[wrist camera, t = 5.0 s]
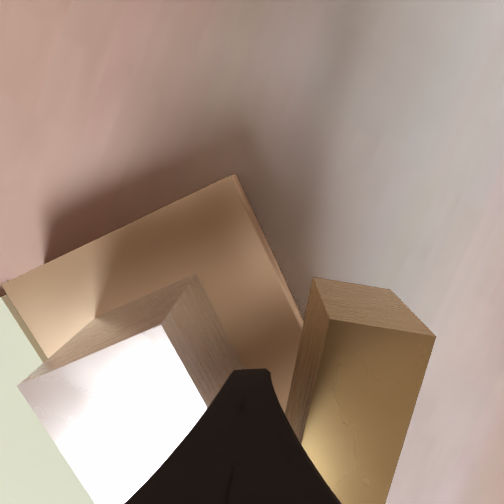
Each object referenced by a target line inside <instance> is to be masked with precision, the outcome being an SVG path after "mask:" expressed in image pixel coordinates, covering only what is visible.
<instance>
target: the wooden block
mask: <svg viewBox="0 0 504 504" xmlns="http://www.w3.org/2000/svg"><path fill="white" fill-rule="evenodd" d="M435 338H436V336H435V335H434V334H433V333H432V332H431V331H430V330H429V329H428V328H427V327H426V326H425V324H424V323H423V322H422V321H421V320H420V319H419V318H418V317H417V316H416V315H415V314H414V313H413V312H412V311H411V310H410V309H409V308H408V307H407V306H406V305H405V304H404V303H403V302H402V301H401V300H400V299H399V298H398V297H397V296H396V295H395V294H394V293H393V292H392V291H391V290H390V289H384V288H378V287H372V286H366V285H360V284H353V283H347V282H341V281H335V280H329V279H323V278H317V277H313V279H312V284H311V289H310V294H309V299H308V304H307V309H306V313H305V318H304V323H303V328H302V333H301V338H300V342H299V347H298V352H297V357H296V362H295V367H294V372H293V376H292V381H291V386H290V391H289V396H288V401H287V406H286V410H285V415H286V417H287V419H288V421H289V423H290V425H291V427H292V429H293V431H294V433H295V434H296V436H297V438H298V440H299V441H300V443H301V445H302V446H303V448H304V450H305V451H306V453H307V455H308V456H309V458H310V459H311V461H312V462H313V464H314V465H315V467H316V469H317V470H318V472H319V473H320V474H321V476H322V477H323V479H324V480H325V482H326V483H327V484H328V486H329V487H330V488H331V490H332V491H333V493H334V494H335V495H336V497H337V498H338V499H339V501H340V502H341V503H342V504H385V502H386V499H387V496H388V492H389V489H390V486H391V483H392V479H393V476H394V473H395V469H396V466H397V463H398V460H399V456H400V453H401V450H402V447H403V443H404V440H405V437H406V433H407V430H408V427H409V424H410V420H411V417H412V414H413V410H414V407H415V404H416V401H417V397H418V394H419V391H420V388H421V384H422V381H423V378H424V374H425V371H426V368H427V365H428V361H429V358H430V355H431V352H432V348H433V345H434V342H435Z"/></svg>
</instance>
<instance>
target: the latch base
mask: <svg viewBox="0 0 504 504" xmlns="http://www.w3.org/2000/svg"><path fill="white" fill-rule="evenodd" d="M195 273H196V274H197V276H198V278H199V280H200V282H201V284H202V286H203V288H204V290H205V292H206V294H207V296H208V298H209V300H210V302H211V304H212V306H213V307H214V309H215V311H216V313H217V315H218V317H219V319H220V321H221V323H222V325H223V327H224V329H225V331H226V333H227V335H228V337H229V339H230V340H231V342H232V344H233V346H234V348H235V350H236V352H237V354H238V356H239V358H240V360H241V362H242V364H243V366H244V368H245V369H261V368H266V369H267V370H268V371H269V372H271V380H272V384H273V387H274V390H275V393H276V395H277V398H278V401H279V403H280V405H281V407H282V409H283V411H284V413H285V410H286V406H287V401H288V396H289V391H290V386H291V381H292V376H293V372H294V367H295V362H296V357H297V352H298V347H299V342H300V338H301V333H302V328H303V323H304V320H303V318H302V316H301V313H300V311H299V309H298V307H297V305H296V303H295V300H294V298H293V296H292V294H291V292H290V290H289V288H288V285H287V283H286V281H285V279H284V277H283V275H282V272H281V270H280V268H279V266H278V264H277V262H276V259H275V257H274V255H273V253H272V251H271V249H270V246H269V244H268V242H267V240H266V238H265V236H264V233H263V231H262V229H261V227H260V225H259V223H258V220H257V218H256V216H255V214H254V212H253V210H252V207H251V205H250V203H249V201H248V199H247V197H246V194H245V192H244V190H243V188H242V186H241V184H240V182H239V179H238V177H237V175H236V174H234V175H230V176H228V177H225V178H223V179H221V180H219V181H217V182H215V183H213V184H211V185H209V186H207V187H205V188H202V189H200V190H198V191H196V192H194V193H192V194H190V195H188V196H186V197H184V198H182V199H179V200H177V201H175V202H173V203H171V204H169V205H167V206H165V207H163V208H161V209H159V210H156V211H154V212H152V213H150V214H148V215H146V216H144V217H142V218H140V219H138V220H136V221H133V222H131V223H129V224H127V225H125V226H123V227H121V228H119V229H117V230H115V231H113V232H110V233H108V234H106V235H104V236H102V237H100V238H98V239H96V240H94V241H92V242H90V243H87V244H85V245H83V246H81V247H79V248H77V249H75V250H73V251H71V252H69V253H67V254H64V255H62V256H60V257H58V258H56V259H54V260H52V261H50V262H48V263H46V264H44V265H41V266H39V267H37V268H35V269H33V270H31V271H29V272H27V273H25V274H23V275H21V276H18V277H16V278H14V279H12V280H10V281H8V282H6V283H4V284H2V285H1V286H2V287H3V289H4V290H5V292H6V294H7V295H8V297H9V298H10V300H11V301H12V303H13V304H14V306H15V308H16V309H17V311H18V312H19V314H20V315H21V317H22V319H23V320H24V322H25V323H26V325H27V326H28V328H29V329H30V331H31V333H32V334H33V336H34V337H35V339H36V340H37V342H38V344H39V345H40V347H41V348H42V350H43V351H44V353H45V355H46V356H47V358H49V357H51V356H52V355H53V354H54V353H55V352H56V351H57V350H59V349H60V348H61V347H62V346H63V345H64V344H65V343H67V342H68V341H69V340H70V339H71V338H72V337H73V336H75V335H76V334H77V333H78V332H79V331H80V330H81V329H83V328H84V327H85V326H86V325H87V324H88V323H89V322H91V321H92V320H93V319H94V318H96V317H98V316H100V315H102V314H105V313H107V312H109V311H111V310H114V309H116V308H118V307H120V306H123V305H125V304H127V303H130V302H132V301H134V300H136V299H139V298H141V297H143V296H145V295H148V294H150V293H152V292H154V291H157V290H159V289H161V288H163V287H166V286H168V285H170V284H172V283H175V282H177V281H179V280H181V279H184V278H186V277H188V276H191V275H193V274H195Z"/></svg>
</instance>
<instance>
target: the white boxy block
mask: <svg viewBox="0 0 504 504" xmlns="http://www.w3.org/2000/svg"><path fill="white" fill-rule="evenodd" d="M242 369H245V368H244V366H243V364H242V362H241V360H240V358H239V356H238V354H237V352H236V350H235V348H234V346H233V344H232V342H231V340H230V339H229V337H228V335H227V333H226V331H225V329H224V327H223V325H222V323H221V321H220V319H219V317H218V315H217V313H216V311H215V309H214V307H213V306H212V304H211V302H210V300H209V298H208V296H207V294H206V292H205V290H204V288H203V286H202V284H201V282H200V280H199V278H198V276H197V274H196V273H195V274H193V275H191V276H188V277H186V278H184V279H181V280H179V281H177V282H175V283H172V284H170V285H168V286H166V287H163V288H161V289H159V290H157V291H154V292H152V293H150V294H148V295H145V296H143V297H141V298H139V299H136V300H134V301H132V302H130V303H127V304H125V305H123V306H120V307H118V308H116V309H114V310H111V311H109V312H107V313H105V314H102V315H100V316H98V317H96V318H94V319H93V320H92V321H91V322H89V323H88V324H87V325H86V326H85V327H84V328H83V329H81V330H80V331H79V332H78V333H77V334H76V335H75V336H73V337H72V338H71V339H70V340H69V341H68V342H67V343H65V344H64V345H63V346H62V347H61V348H60V349H59V350H57V351H56V352H55V353H54V354H53V355H52V356H51V357H49V358H48V359H47V360H46V361H45V362H44V363H43V364H41V365H40V366H39V367H38V368H37V369H36V370H35V371H33V372H32V373H31V374H30V375H29V376H28V377H27V378H25V379H24V380H23V381H22V382H21V383H20V384H19V385H17V387H18V389H19V390H20V392H21V393H22V395H23V396H24V398H25V399H26V401H27V402H28V404H29V405H30V407H31V408H32V410H33V411H34V413H35V414H36V416H37V417H38V419H39V420H40V422H41V423H42V425H43V426H44V427H45V429H46V430H47V432H48V433H49V435H50V436H51V438H52V439H53V441H54V442H55V444H56V445H57V447H58V448H59V450H60V451H61V453H62V454H63V456H64V457H65V459H66V460H67V462H68V463H69V465H70V466H71V468H72V469H73V471H74V472H75V474H76V475H77V477H78V478H79V480H80V481H81V483H82V484H83V486H84V487H85V489H86V490H87V491H88V493H89V494H90V496H91V497H92V499H93V500H94V502H95V503H96V504H124V503H125V502H126V501H127V500H128V499H129V498H130V497H131V496H132V495H133V494H134V493H135V492H136V491H137V490H138V489H139V488H140V487H141V486H142V485H143V484H144V483H145V482H146V481H147V480H148V479H149V478H150V477H151V475H152V474H153V473H154V472H155V471H156V470H157V469H158V468H159V467H160V466H161V465H162V464H163V462H164V461H165V460H166V459H167V458H168V457H169V455H170V454H171V453H172V452H173V451H174V449H175V448H176V447H177V446H178V445H179V444H180V442H181V441H182V440H183V439H184V438H185V436H186V435H187V434H188V433H189V432H190V430H191V429H192V428H193V426H194V425H195V424H196V422H197V421H198V420H199V418H200V417H201V416H202V414H203V413H204V412H205V410H206V409H207V408H208V406H209V405H210V404H211V402H212V401H213V399H214V398H215V396H216V395H217V394H218V392H219V391H220V389H221V388H222V386H223V384H224V383H225V381H226V380H227V378H228V377H229V375H230V374H231V373H232V372H233V371H234V370H242Z"/></svg>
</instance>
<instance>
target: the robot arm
mask: <svg viewBox="0 0 504 504" xmlns="http://www.w3.org/2000/svg"><path fill="white" fill-rule="evenodd" d="M124 504H342V503H341V502H340V501H339V499H338V498H337V497H336V495H335V494H334V493H333V491H332V490H331V488H330V487H329V486H328V484H327V483H326V482H325V480H324V479H323V477H322V476H321V474H320V473H319V472H318V470H317V469H316V467H315V465H314V464H313V462H312V461H311V459H310V458H309V456H308V455H307V453H306V451H305V450H304V448H303V446H302V445H301V443H300V441H299V440H298V438H297V436H296V434H295V433H294V431H293V429H292V427H291V425H290V423H289V421H288V419H287V417H286V415H285V413H284V411H283V409H282V407H281V405H280V403H279V401H278V398H277V395H276V393H275V390H274V387H273V384H272V380H271V372H269V371H268V370H267V369H266V368H261V369H242V370H234V371H233V372H232V373H231V374H230V375H229V377H228V378H227V380H226V381H225V383H224V384H223V386H222V388H221V389H220V391H219V392H218V394H217V395H216V396H215V398H214V399H213V401H212V402H211V404H210V405H209V406H208V408H207V409H206V410H205V412H204V413H203V414H202V416H201V417H200V418H199V420H198V421H197V422H196V424H195V425H194V426H193V428H192V429H191V430H190V432H189V433H188V434H187V435H186V436H185V438H184V439H183V440H182V441H181V442H180V444H179V445H178V446H177V447H176V448H175V449H174V451H173V452H172V453H171V454H170V455H169V457H168V458H167V459H166V460H165V461H164V462H163V464H162V465H161V466H160V467H159V468H158V469H157V470H156V471H155V472H154V473H153V474H152V475H151V477H150V478H149V479H148V480H147V481H146V482H145V483H144V484H143V485H142V486H141V487H140V488H139V489H138V490H137V491H136V492H135V493H134V494H133V495H132V496H131V497H130V498H129V499H128V500H127V501H126V502H125V503H124Z"/></svg>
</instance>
